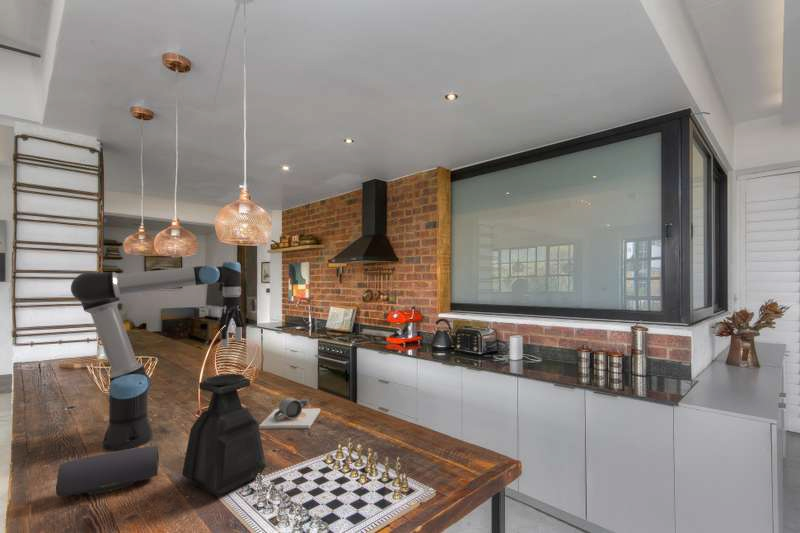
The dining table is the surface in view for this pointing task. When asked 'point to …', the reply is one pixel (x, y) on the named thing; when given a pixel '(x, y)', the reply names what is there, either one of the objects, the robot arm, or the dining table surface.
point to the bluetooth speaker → (107, 471)
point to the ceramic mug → (289, 409)
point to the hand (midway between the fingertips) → (231, 343)
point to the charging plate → (300, 422)
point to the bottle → (224, 439)
